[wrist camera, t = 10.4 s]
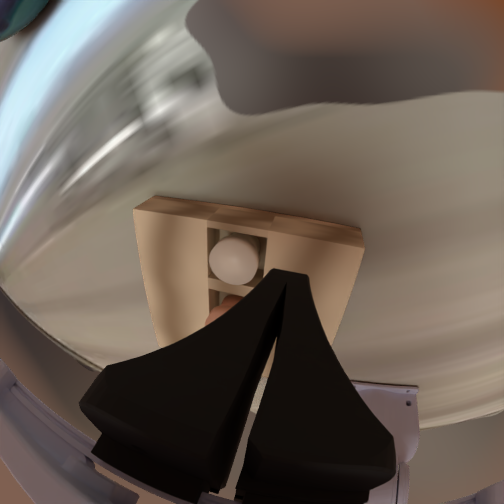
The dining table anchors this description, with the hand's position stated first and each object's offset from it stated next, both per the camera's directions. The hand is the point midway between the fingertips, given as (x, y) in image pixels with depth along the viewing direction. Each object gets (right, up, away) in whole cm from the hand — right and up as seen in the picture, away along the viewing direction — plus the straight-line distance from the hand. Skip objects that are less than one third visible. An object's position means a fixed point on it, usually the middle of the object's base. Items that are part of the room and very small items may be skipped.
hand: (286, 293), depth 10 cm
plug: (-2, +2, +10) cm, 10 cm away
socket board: (-2, -2, +13) cm, 14 cm away
